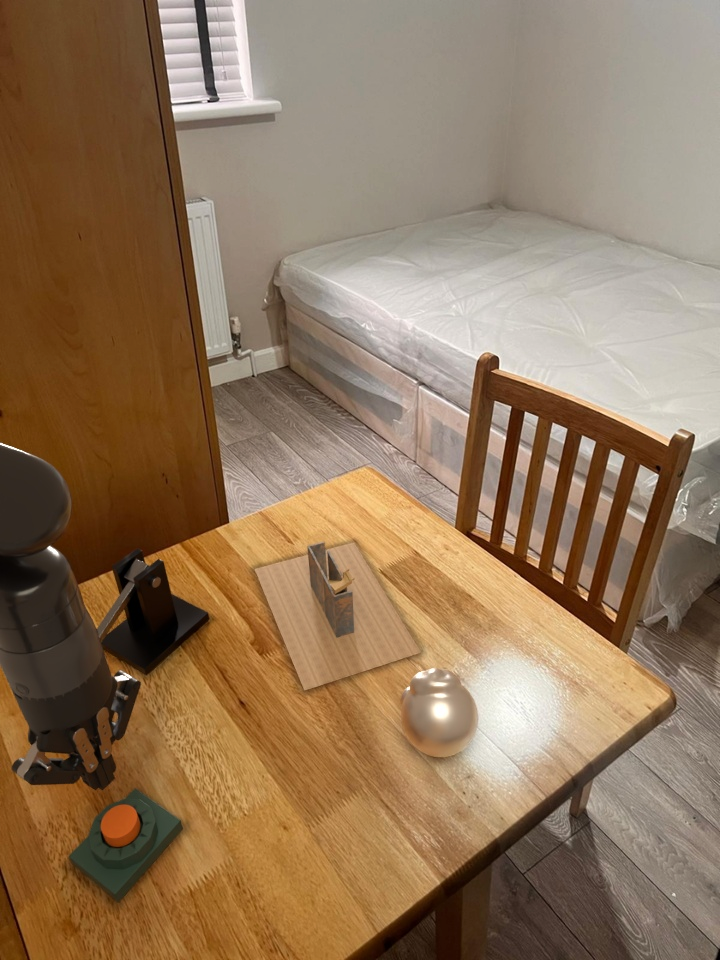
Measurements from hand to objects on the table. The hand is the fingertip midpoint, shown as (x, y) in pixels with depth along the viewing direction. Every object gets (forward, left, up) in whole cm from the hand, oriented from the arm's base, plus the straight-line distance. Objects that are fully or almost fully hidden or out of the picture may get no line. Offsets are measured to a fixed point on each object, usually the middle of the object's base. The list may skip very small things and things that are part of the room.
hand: (102, 780), depth 70 cm
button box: (0, 0, -12) cm, 12 cm away
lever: (+18, +20, -5) cm, 27 cm away
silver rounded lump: (+29, -21, -12) cm, 38 cm away
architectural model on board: (+40, +2, -12) cm, 42 cm away
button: (0, 0, -8) cm, 8 cm away
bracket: (+23, +20, -12) cm, 32 cm away
